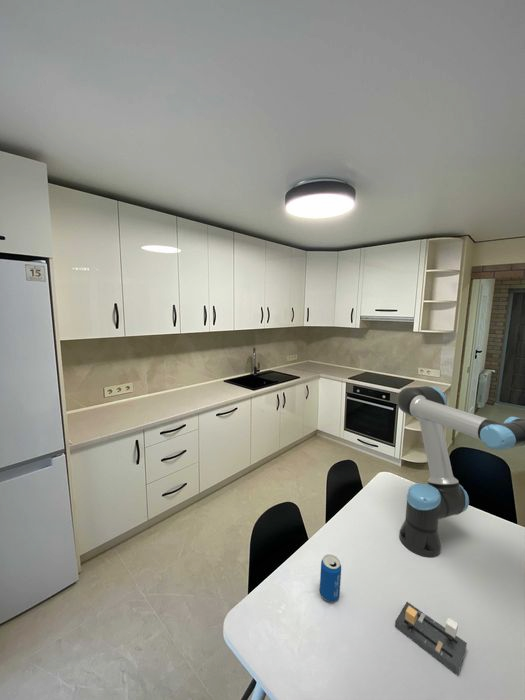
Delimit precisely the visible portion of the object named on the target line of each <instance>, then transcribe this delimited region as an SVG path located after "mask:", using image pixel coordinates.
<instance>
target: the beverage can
mask: <svg viewBox="0 0 525 700" xmlns="http://www.w3.org/2000/svg"><path fill="white" fill-rule="evenodd" d="M322 557H323V558H322V559H321V561H320V579H319V594H320V595H321V597H322V599H324V600H325V601H327V602H330V603H334V602H337V601H338V600H339V599H340V594H341V593H340V591H341V579H342V564H341V561H340V559H339V558H338V557H337V556H336V555H334V554H330V553H329V554H326V555H323V556H322Z"/></svg>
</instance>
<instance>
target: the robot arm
mask: <svg viewBox="0 0 525 700" xmlns="http://www.w3.org/2000/svg"><path fill="white" fill-rule="evenodd" d="M396 405H397V407H398V408H399V410H400V411H402V412H403V413H404V414H405V415H408V416H411V417H414V418H415V419H417V420H418V421H419V425H420V430H421V435H422V441H423V446H424V451H425V454H426V455H425V456H426V461H427V464H428V465H427V466H428V471H429V474H430V475H429V476H430V477H429V478H428V479H427V483H424V484H423V483H421V482H418V483H413V484H412V485H410V487H408V490H407V494H406V505H405V506H406V507H405V508H406V509H405V520H404V522H403V523H402V525H401V527H400V529H399V536H398V537H399V540H400V542H401V544H402V545H403V546H404V547H405V548H406V549H407V550H409V551H410V552H412V553H413V554H416V555H418V556H421V557H426V558H434V557H437V556H439V555H440V553H441V550H442V549H441V548H442V544H441V539H440V537H439V532H438V527H439V520H441V519H445V518H448V517H452V516H458V515H460V514H462V513H463V512H466V510H467V509H468V508H469V506H470V505H469V504H470V499H469V498H470V497H469V495H468V492H467V491H466V490H465V489H464V486H462V485H461V484H460V483H459V479H457V477H455V476H454V474H453V470H452V469H453V468H452V465H451V460H450V456H449V451H448V446H447V442H446V438H445V432H444V428H443V426H444V427H446V428H449V429H452V430H454V431H456V432H459V433H462V434H464V435H467V436H470V437H473V438H475V439H476V440H480V441H481V442H482V443H483V444H484V445H485V446H486V447H487V448H489V449H491V450H496V451H501V450H503V451H506V450H509V449H512V448H518V447H523V446H525V418H523V417H517V416H510V417H507V419H505V420H504V422H499V421H496V420H491V419H490V418H486V417H483V416H479V415H477V414H473V413H471V412H468V411H464V410H461V409H458V408H454V407H452V406H448V405H447V397H446V396H445V394H444V392H443V391H442V390H441V389H439V388H438V387H437V386H436V387H435V386H429V385H427V386H426V385H425V386H414V387H413V386H412V387H406V388H403V389H401V390H400V391H399V392H398V394H397V396H396Z"/></svg>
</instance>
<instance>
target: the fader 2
mask: <svg viewBox="0 0 525 700" xmlns="http://www.w3.org/2000/svg"><path fill="white" fill-rule="evenodd" d="M444 628H445V632H447V633H448V638H449V639H451V640H452V639H453V637H454V638H455V636H457V633H458V628H459V624H458V623H457V622H456V621H455V620H453V619H452V618H450V617H449V616H448V618H447V620H446V621H445V627H444Z"/></svg>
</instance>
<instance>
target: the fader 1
mask: <svg viewBox="0 0 525 700" xmlns="http://www.w3.org/2000/svg"><path fill="white" fill-rule="evenodd" d="M405 619H406V620H407V621H408V625H409V626H410V627H412V625H414V624H415V622H416V620H417V611H416V610H414V609H413V608H412V607H410V606H408V608H407V610H406V614H405Z"/></svg>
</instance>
